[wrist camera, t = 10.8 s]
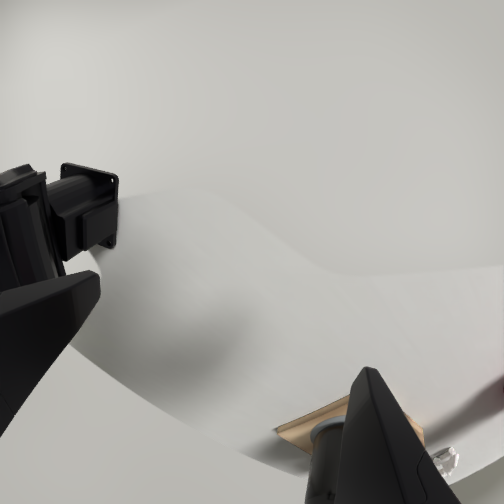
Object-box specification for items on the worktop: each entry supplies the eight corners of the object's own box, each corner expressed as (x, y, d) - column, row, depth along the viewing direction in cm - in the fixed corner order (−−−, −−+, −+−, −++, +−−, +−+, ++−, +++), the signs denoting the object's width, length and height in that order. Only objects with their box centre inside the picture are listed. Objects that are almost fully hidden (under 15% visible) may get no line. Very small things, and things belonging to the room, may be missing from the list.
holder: (278, 427, 31) (265, 479, 25) (371, 383, 25) (372, 446, 19) (337, 463, 32) (332, 509, 26) (422, 428, 27) (427, 481, 20)
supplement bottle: (353, 456, 29) (344, 547, 19) (303, 441, 29) (282, 538, 19) (392, 429, 26) (392, 533, 15) (338, 411, 26) (324, 526, 16)
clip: (454, 442, 27) (458, 466, 24) (462, 444, 27) (466, 467, 23) (426, 460, 29) (428, 484, 26) (435, 462, 29) (437, 485, 26)
